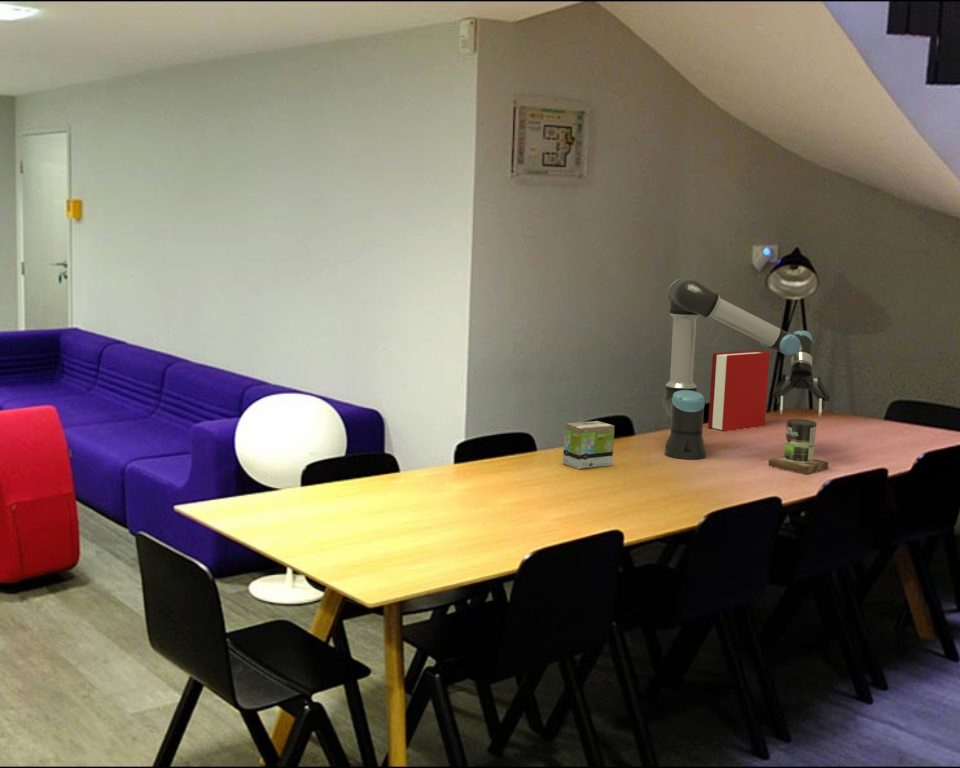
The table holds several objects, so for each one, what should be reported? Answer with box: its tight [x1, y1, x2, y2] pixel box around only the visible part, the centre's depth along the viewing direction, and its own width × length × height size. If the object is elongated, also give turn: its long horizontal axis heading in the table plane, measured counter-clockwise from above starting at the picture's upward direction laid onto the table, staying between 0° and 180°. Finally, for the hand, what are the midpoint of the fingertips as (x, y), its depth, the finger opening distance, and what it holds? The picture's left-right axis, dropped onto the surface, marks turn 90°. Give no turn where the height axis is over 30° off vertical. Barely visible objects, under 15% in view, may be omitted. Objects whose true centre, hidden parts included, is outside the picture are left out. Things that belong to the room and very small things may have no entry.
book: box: [707, 349, 771, 432], centre depth 458 cm, size 27×8×32 cm, turn 124°
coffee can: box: [783, 418, 818, 463], centre depth 386 cm, size 10×10×14 cm
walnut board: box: [767, 455, 829, 475], centre depth 388 cm, size 15×15×3 cm
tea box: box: [562, 420, 615, 470], centre depth 382 cm, size 15×10×15 cm, turn 123°
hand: (800, 413), depth 393 cm, fingers open, 13 cm apart
